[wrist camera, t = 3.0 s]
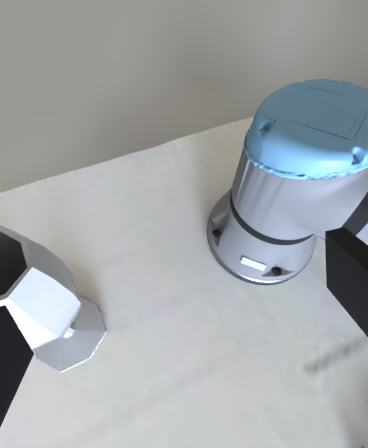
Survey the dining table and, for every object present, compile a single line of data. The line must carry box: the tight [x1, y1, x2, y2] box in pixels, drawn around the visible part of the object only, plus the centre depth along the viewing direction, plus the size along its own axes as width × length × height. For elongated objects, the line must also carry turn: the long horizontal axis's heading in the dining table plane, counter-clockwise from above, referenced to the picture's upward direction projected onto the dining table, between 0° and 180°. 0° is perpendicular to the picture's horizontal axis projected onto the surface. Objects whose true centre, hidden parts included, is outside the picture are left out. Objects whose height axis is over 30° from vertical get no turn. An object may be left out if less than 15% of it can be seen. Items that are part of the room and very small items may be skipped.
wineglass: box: [0, 226, 107, 373], centre depth 29 cm, size 9×9×21 cm
